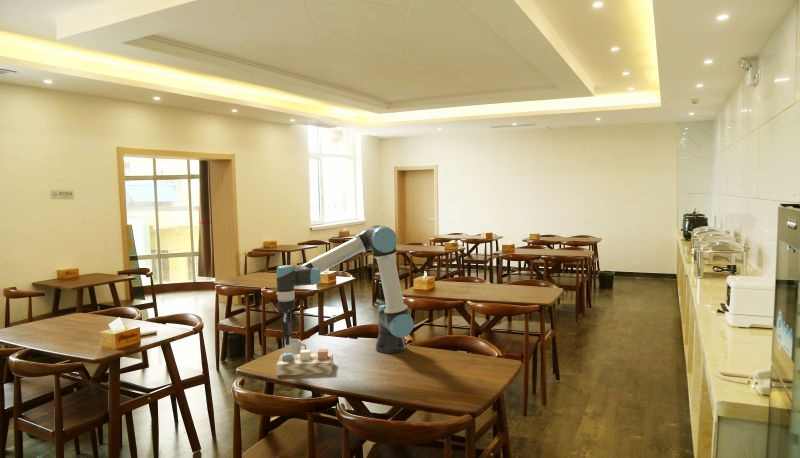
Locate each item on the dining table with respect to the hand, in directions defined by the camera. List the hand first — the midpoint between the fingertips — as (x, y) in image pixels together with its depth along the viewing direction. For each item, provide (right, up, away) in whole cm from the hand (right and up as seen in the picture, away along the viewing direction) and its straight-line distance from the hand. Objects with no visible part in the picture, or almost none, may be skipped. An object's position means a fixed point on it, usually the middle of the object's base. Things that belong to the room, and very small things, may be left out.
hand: (288, 351), depth 237 cm
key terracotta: (+16, -5, +1) cm, 16 cm away
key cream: (+8, -5, +1) cm, 9 cm away
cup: (0, -8, +19) cm, 21 cm away
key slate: (0, -6, 0) cm, 6 cm away
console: (+8, -9, +1) cm, 12 cm away
